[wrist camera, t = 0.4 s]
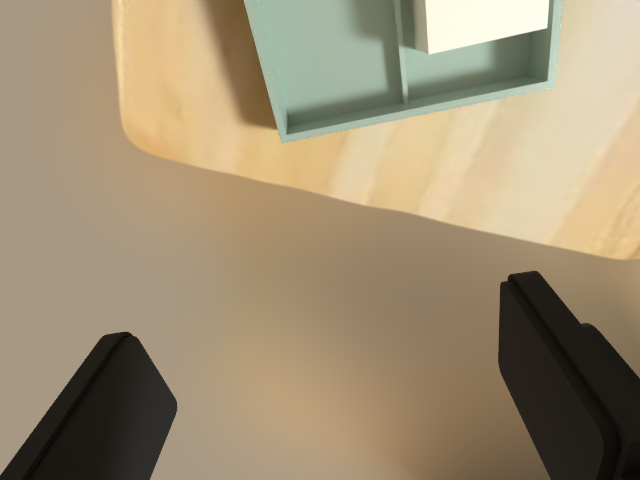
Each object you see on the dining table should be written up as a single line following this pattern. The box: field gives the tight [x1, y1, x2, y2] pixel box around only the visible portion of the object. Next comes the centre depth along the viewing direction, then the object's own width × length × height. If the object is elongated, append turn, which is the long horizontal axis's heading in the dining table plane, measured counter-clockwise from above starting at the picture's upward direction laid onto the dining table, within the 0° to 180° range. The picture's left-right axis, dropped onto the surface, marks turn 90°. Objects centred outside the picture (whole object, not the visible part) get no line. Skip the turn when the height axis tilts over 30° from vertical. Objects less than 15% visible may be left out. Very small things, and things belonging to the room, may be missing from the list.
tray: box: [244, 0, 563, 143], centre depth 28 cm, size 16×22×4 cm
